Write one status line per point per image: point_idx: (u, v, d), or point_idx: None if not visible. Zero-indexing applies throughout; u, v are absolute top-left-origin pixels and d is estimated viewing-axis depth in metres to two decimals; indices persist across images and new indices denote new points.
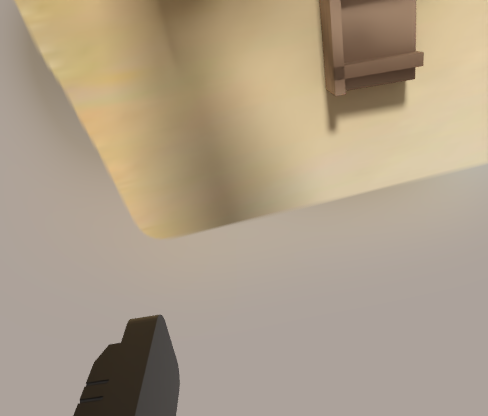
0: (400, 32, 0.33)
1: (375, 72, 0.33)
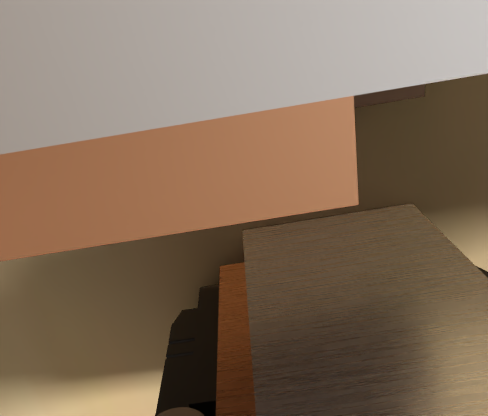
0: None
1: None
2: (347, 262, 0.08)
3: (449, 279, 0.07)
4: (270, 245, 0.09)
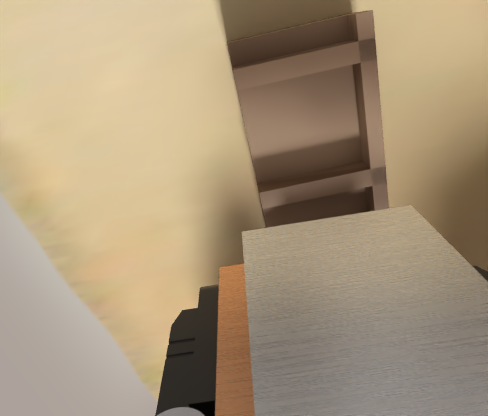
0: (264, 111, 0.23)
1: (308, 54, 0.20)
2: (346, 263, 0.08)
3: (447, 281, 0.07)
4: (269, 246, 0.09)
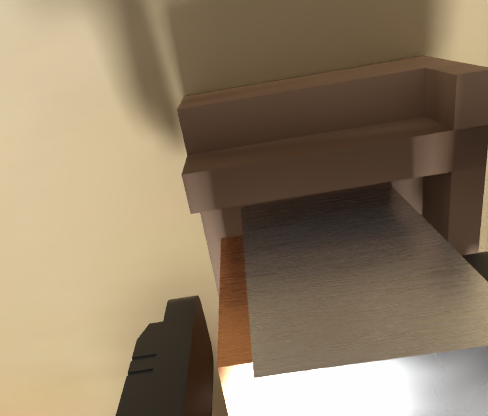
0: None
1: (346, 152, 0.09)
2: (332, 232, 0.10)
3: (416, 244, 0.09)
4: (265, 220, 0.11)
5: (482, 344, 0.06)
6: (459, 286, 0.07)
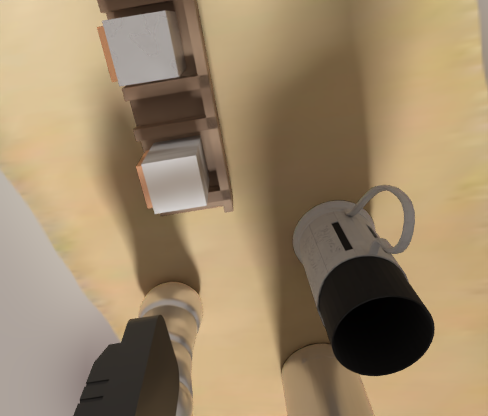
0: None
1: None
2: None
3: None
4: None
5: None
6: None
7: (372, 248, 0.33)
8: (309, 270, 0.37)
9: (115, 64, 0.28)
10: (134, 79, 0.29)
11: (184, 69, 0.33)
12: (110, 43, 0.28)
